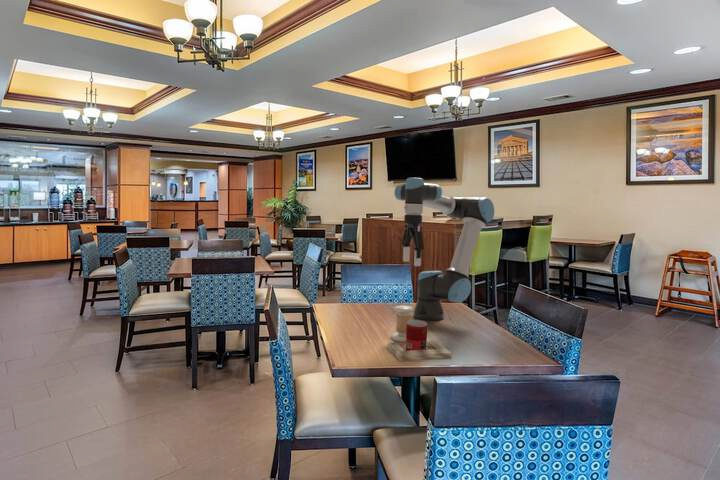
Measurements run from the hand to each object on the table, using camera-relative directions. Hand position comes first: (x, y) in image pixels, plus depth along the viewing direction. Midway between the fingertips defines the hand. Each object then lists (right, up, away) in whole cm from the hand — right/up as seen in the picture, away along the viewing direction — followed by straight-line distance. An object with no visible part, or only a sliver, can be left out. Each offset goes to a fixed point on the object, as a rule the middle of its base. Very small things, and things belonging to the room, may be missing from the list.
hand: (411, 263), depth 193 cm
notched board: (0, -33, -22) cm, 39 cm away
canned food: (-1, -33, -19) cm, 38 cm away
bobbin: (-4, -31, -4) cm, 32 cm away
